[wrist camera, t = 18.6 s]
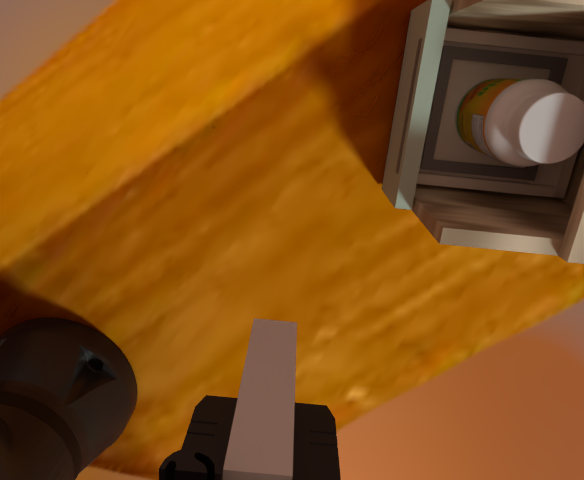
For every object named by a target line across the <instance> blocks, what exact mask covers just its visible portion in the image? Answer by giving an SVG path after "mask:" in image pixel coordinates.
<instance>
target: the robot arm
mask: <svg viewBox="0 0 584 480" xmlns="http://www.w3.org/2000/svg"><path fill="white" fill-rule="evenodd" d="M296 334H297V323H296V322H286V321H276V320H266V319H255V318H254V322H253V327H252V331H251V336H250V341H249V346H248V351H247V356H246V361H245V365H244V370H243V375H242V380H241V385H240V390H239V395H238V398H229V397H218V396H208V395H206V396H205V397H204V398H203V399H202V400H201V401H200V402H199V403H198V405H197V406H196V407H195V409H194V412H193V415H192V418H191V423H190V425H189V428H188V431H187V435H186V437H185V440H184V443H183V446H182V449H181V450H179V451H177V452H174V453H173V454H171V455H170V456H169V457H167V458H166V459H165V460H164V462H163V463H162V465H161V466H160V468H159V480H340V468H339V457H338V448H337V436H336V424H335V418H334V416H333V415H332V413H331V412H330V410H329V408H328V407H327V406H325V405H315V404H304V403H295V371H296ZM136 402H137V384H136V379H135V376H134V373H133V370H132V368H131V366H130V364H129V362H128V361H127V359H126V358H125V356H124V355H123V354H122V352H121V351H120V350H119V349H118V348H117V347H116V346H115V345H114V344H113V343H112V342H111V341H110V340H108V339H107V338H106V337H104V336H103V335H102V334H100V333H98V332H97V331H95V330H93V329H91V328H89V327H87V326H84V325H82V324H79V323H76V322H73V321H69V320H64V319H55V318H42V319H34V320H29V321H26V322H23V323H20V324H18V325H16V326H14V327H12V328H10V329H9V330H7V331H6V332H5V333H3V334H2V335H1V336H0V480H75V479H76V478H77V476H78V474H79V473H80V472H81V471H82V470H83V469H85V468H86V467H87V466H88V465H89V464H90V463H91V462H92V461H93V460H95V459H96V458H97V457H98V456H99V455H100V454H101V453H102V452H103V451H104V450H105V449H106V448H108V447H109V446H110V445H112V444H113V443H114V442H115V441H116V440H117V439H118V438H119V436H120V435H121V434H122V432H123V431H124V429H125V427H126V425H127V423H128V422H129V420H130V418H131V416H132V414H133V411H134V409H135V406H136Z"/></svg>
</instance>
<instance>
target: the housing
mask: <svg viewBox="0 0 584 480" xmlns="http://www.w3.org/2000/svg"><path fill="white" fill-rule="evenodd" d="M446 28H451V29H460V30H470V31H480V32H489V33H499V34H509V35H518V36H528V37H537V38H547V39H557V40H566V41H576V42H584V0H452V1H451V6H450V11H449V16H448V22H447V27H446ZM412 211H413V212H414V213H415V214H416V216H417V217H418V218H419V219H420V221H421V222H422V223H423V224H424V225H425V227H426V228H427V229H428V230H429V232H430V233H431V234H432V235H433V236H434V238H435V239H436V240H437V241H438V242H439V244H447V245H457V246H467V247H477V248H487V249H497V250H507V251H517V252H527V253H537V254H547V255H557V256H559V257H561V258H562V259H564V260H565V261H567V262H572V263H582V264H584V144H583V145H582V146H581V148H580V149H579V150H578V153H577V157H576V160H575V163H574V166H573V170H572V173H571V176H570V180H569V183H568V186H567V190H566V193H565V196H564V198H555V197H545V196H535V195H525V194H515V193H505V192H495V191H485V190H475V189H465V188H456V187H446V186H436V185H426V184H416V189H415V195H414V200H413V205H412Z"/></svg>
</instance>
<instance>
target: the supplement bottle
mask: <svg viewBox="0 0 584 480" xmlns="http://www.w3.org/2000/svg"><path fill="white" fill-rule="evenodd" d="M455 124H456V129H457V132H458V135H459V136H460V138H461V139H462V141H463V142H464V143H465V144H466V145H468V146H469V147H470V148H472V149H474V150H476V151H478V152H481V153H483V154H486V155H488V156H490V157H493V158H495V159H497V160H500V161H502V162H505V163H507V164H510V165H514V166H520V167H527V166H535V165H539V164H541V163H543V164H552V163H557V162H561V161H563V160H565V159H567V158H569V157H571V156H572V155H573V154H575V153H576V152H577V151H578V150H579V149H580V148H581V146H582V145H583V144H584V102H583V101H582V100H581V99H579V98H578V97H576V96H575V95H572V94H570V93H568V92H567V91H566V90H565V89H564V88H563V87H562V86H560V85H559V84H557V83H555V82H552V81H549V80H545V79H505V78H496V79H489V80H485V81H482V82H480V83H478V84H476V85H475V86H473V87H472V88H471V89H469V90H468V91H467V92H466V93H465V95H464V96H463V97H462V99H461V100H460V102H459V104H458V107H457V110H456V116H455Z"/></svg>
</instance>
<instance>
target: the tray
mask: <svg viewBox="0 0 584 480" xmlns="http://www.w3.org/2000/svg"><path fill="white" fill-rule="evenodd" d="M451 1H452V0H427V1H426V2H424V3H422V4H421V5H419V6H418V7H416V8H414V9H413V10H411V15H410V21H409V27H408V33H407V39H406V45H405V51H404V57H403V63H402V69H401V75H400V81H399V87H398V93H397V99H396V105H395V111H394V117H393V123H392V129H391V135H390V141H389V148H388V154H387V160H386V166H385V172H384V178H383V184H382V190H383V192H384V193H385V194H386V196H387V197H388V199H389V200H390V202H391V203H392V204H393V206H394V207H395V208H400V209H410V210H412V205H413V200H414V195H415V189H416V184H426V185H436V186H446V187H456V188H465V189H475V190H485V191H495V192H505V193H515V194H525V195H535V196H545V197H555V198H564V196H565V193H566V190H567V186H568V183H569V180H570V176H571V173H572V170H573V166H574V163H575V160H576V157H577V153H578V151H577V152H576V153H575V154H573V155H572V156H571V157H569V158H567V159H565V160H563V161H561V162H557V163H552V164H543V163H541V164H539V165H535V166H527V167H520V166H514V165H510V164H507V163H505V162H502V161H500V160H497V159H495V158H493V157H490V156H488V155H486V154H483V153H481V152H478V151H476V150H474V149H472V148H470V147H469V146H468V145H466V144H465V143H464V142H463V141H462V139H461V138H460V136H459V135H458V132H457V129H456V124H455V116H456V110H457V107H458V104H459V102H460V100H461V99H462V97H463V96H464V95H465V93H466V92H467V91H468V90H469V89H471V88H472V87H473V86H475V85H476V84H478V83H480V82H482V81H485V80H489V79H496V78H505V79H545V80H549V81H552V82H555V83H557V84H559V85H560V86H562V87H563V88H564V89H565V90H566V91H567V92H568V93H570V94H572V95H575V96H576V97H578V98H579V99H581V100H582V101H583V102H584V42H576V41H566V40H557V39H547V38H537V37H528V36H518V35H509V34H499V33H489V32H480V31H470V30H460V29H451V28H446V27H447V22H448V16H449V11H450V6H451Z"/></svg>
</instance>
